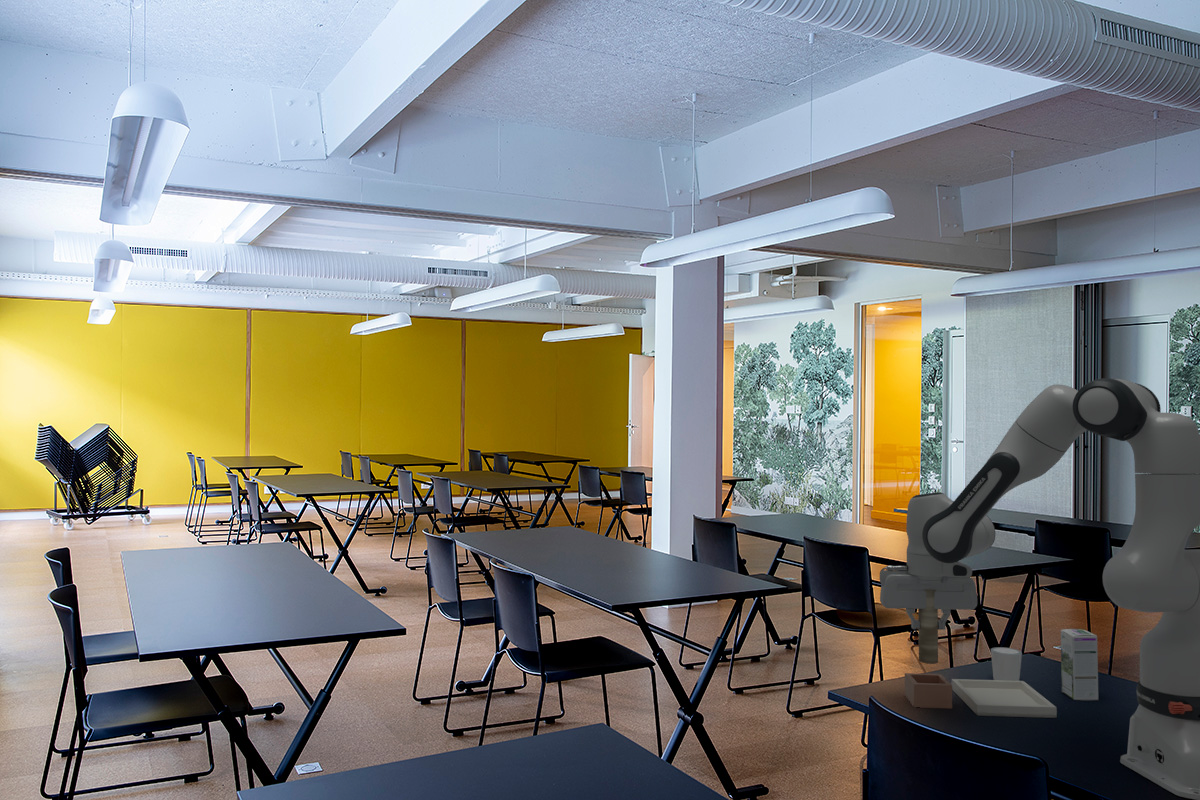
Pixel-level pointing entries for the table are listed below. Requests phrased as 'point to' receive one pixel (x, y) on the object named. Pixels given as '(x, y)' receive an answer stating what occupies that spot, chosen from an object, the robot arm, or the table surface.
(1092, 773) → the table surface
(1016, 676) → the grey cup
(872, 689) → the table surface
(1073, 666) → the syrup box
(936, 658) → the olive grey ringed cylinder
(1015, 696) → the tray
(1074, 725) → the table surface
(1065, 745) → the table surface
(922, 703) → the brown square sleeve
